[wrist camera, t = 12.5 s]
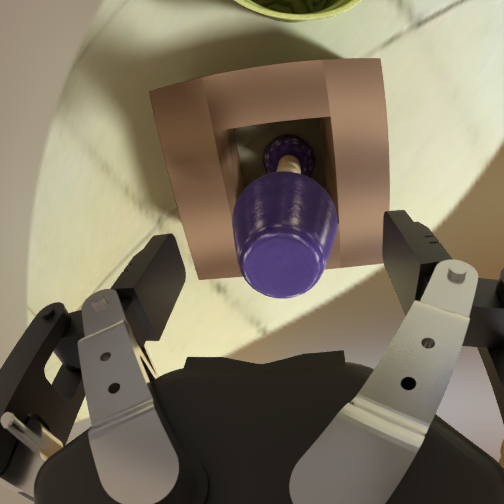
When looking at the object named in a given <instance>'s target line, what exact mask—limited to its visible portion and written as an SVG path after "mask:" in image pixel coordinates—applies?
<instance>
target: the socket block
mask: <svg viewBox="0 0 504 504" xmlns="http://www.w3.org/2000/svg"><path fill="white" fill-rule="evenodd" d="M149 94H150V99H151V103H152V108H153V112H154V116H155V121H156V125H157V129H158V134H159V138H160V142H161V146H162V150H163V154H164V158H165V162H166V166H167V170H168V174H169V178H170V181H171V185H172V189H173V193H174V196H175V200H176V204H177V207H178V211H179V214H180V218H181V222H182V225H183V229H184V232H185V235H186V239H187V242H188V246H189V249H190V252H191V256H192V259H193V262H194V265H195V269H196V272H197V275H198V278H199V280H205V279H218V278H231V277H243V275H242V273H241V271H240V268H239V265H238V261H237V254H236V249H235V243H234V235H233V227H232V215H233V211H234V206H235V203H236V201H237V199H238V197H239V196H240V194H241V193H242V191H243V190H244V189H245V186H244V181H243V176H242V170H241V165H240V160H239V155H238V149H237V144H236V139H235V133H234V128H238V127H244V126H250V125H257V124H264V123H272V122H280V121H288V120H297V119H307V118H318V117H319V121H320V130H321V138H322V147H323V157H324V167H325V178H326V189H325V190H326V191H327V192H328V194H329V195H330V197H331V199H332V200H333V202H334V205H335V209H336V212H337V232H336V236H335V240H334V243H333V246H332V249H331V253H330V255H329V258H328V261H327V264H326V267H325V269H333V268H343V267H353V266H363V265H372V264H382V263H384V262H383V256H382V242H383V216H384V212H385V211H389V201H390V175H389V143H388V125H387V112H386V101H385V91H384V82H383V74H382V67H381V60H380V59H379V58H352V59H326V60H311V61H300V62H290V63H281V64H273V65H266V66H259V67H252V68H246V69H240V70H235V71H230V72H224V73H219V74H215V75H210V76H206V77H201V78H197V79H193V80H189V81H185V82H181V83H177V84H173V85H170V86H166V87H163V88H159V89H156V90H153V91H149Z"/></svg>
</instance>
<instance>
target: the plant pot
mask: <svg viewBox="0 0 504 504" xmlns="http://www.w3.org/2000/svg"><path fill="white" fill-rule="evenodd" d="M234 1H235V2H237V3H238V4H240V5H242V6H244V7H246V8H248V9H250V10H252V11H255V12H257V13H260V14H263V15H267V16H268V17H270V18H272V19H275V20H278V21H283V22H301V21H306V20H316V19H322V18H327V17H331V16H334V15H338V14H340V13H343V12H345V11H347V10H349V9H351V8H352V7H354V6H356V5H357V4H358V3H360V2H361V1H362V0H320V2H319V4H318V5H317V6H315V7H314V6H313V4H314V2H315V0H234ZM272 9H275V10H277V11H274V10H272ZM278 11H279V12H278ZM282 12H283V13H282Z"/></svg>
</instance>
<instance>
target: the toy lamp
mask: <svg viewBox="0 0 504 504" xmlns="http://www.w3.org/2000/svg"><path fill="white" fill-rule="evenodd" d="M263 162H264V167H265V169H266V171H267V173H268V174H266V175H263V176H261V177H259V178H257V179H256V180H254V181H253V182H251V183H250V184H249V185H248V186H247V187H246V188H245V189H244V190H243V191H242V193H241V194H240V196H239V197H238V199H237V201H236V203H235V206H234V211H233V215H232V227H233V235H234V243H235V249H236V254H237V261H238V265H239V268H240V271H241V273H242V275H243V277H244V279H245V280H246V281H247V283H248V284H249V285H250V286H251V287H252V288H253V289H255V290H256V291H258V292H260V293H262V294H264V295H266V296H269V297H274V298H291V297H296V296H298V295H301V294H303V293H305V292H307V291H308V290H310V289H311V288H312V287H313V286H314V285H315V284H316V283H317V282H318V280H319V279H320V277H321V275H322V273H323V271H324V269H325V267H326V264H327V261H328V258H329V255H330V253H331V249H332V246H333V243H334V240H335V236H336V232H337V212H336V209H335V205H334V202H333V200H332V199H331V197H330V195H329V194H328V192H327V191H326V190H325V189H324V188H323V187H322V186H321V185H320V184H319V183H317V182H316V181H315V180H313V179H311V178H309V177H308V176H309V175H310V173H311V172H312V170H313V167H314V154H313V151H312V149H311V147H310V146H309V144H308V143H307V142H306V141H304V140H303V139H301V138H299V137H297V136H293V135H284V136H280V137H277V138H276V139H274V140H273V141H272V142H270V143H269V145H268V146H267V147H266V149H265V152H264V157H263Z"/></svg>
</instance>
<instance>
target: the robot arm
mask: <svg viewBox="0 0 504 504" xmlns="http://www.w3.org/2000/svg"><path fill="white" fill-rule="evenodd" d="M382 256H383V262H384V266H385V268H386V270H387V272H388V274H389V277H390V279H391V282H392V284H393V286H394V289H395V291H396V293H397V296H398V298H399V301H400V303H401V306H402V308H403V311H404V313H405V316H406V318H405V319H404V321H403V323H402V324H401V326H400V328H399V330H398V331H397V333H396V335H395V337H394V339H393V340H392V342H391V343H390V346H389V347H388V348H387V350H386V352H385V353H384V355H383V356H382V358H381V360H380V361H379V363H378V364H377V366H376V368H375V369H372V368H370V367H366V366H364V365H360V364H355V363H349V362H345V357H344V351H332V352H321V353H309V354H302V355H298V356H294V357H290V358H287V359H283V360H279V361H275V362H271V363H266V364H255V363H249V362H244V361H239V360H234V359H229V358H224V357H187V359H186V363H185V366H184V368H183V369H178V370H175V371H172V372H169V373H166V374H164V375H162V376H160V377H159V375H158V373H157V371H156V369H155V367H154V365H153V362H152V360H151V358H150V356H149V353H148V351H147V349H146V347H145V346H144V344H145V342H146V341H159V340H160V337H161V335H162V333H163V330H164V328H165V326H166V323H167V321H168V319H169V317H170V314H171V312H172V310H173V307H174V305H175V303H176V301H177V298H178V296H179V294H180V292H181V289H182V287H183V285H184V283H185V278H186V272H185V267H184V264H183V261H182V258H181V255H180V252H179V248H178V245H177V242H176V239H175V237H174V235H173V234H163V235H156V236H153V237H152V238H151V239H150V241H149V242H148V243H147V245H146V246H145V248H144V249H143V250H141V251H140V252H139V253H137V254H136V255H135V256H134V257H133V258H132V260H131V261H130V262H129V264H128V265H127V266H126V268H125V269H124V272H122V273H121V275H120V276H119V277H118V279H117V280H116V282H115V283H114V284H113V286H112V287H111V289H104V290H100V291H98V292H96V293H94V294H92V295H91V296H90V297H88V298H87V299H86V300H85V302H84V303H83V305H82V309H81V310H79V311H75V312H72V313H68V311H67V310H66V308H65V306H64V305H63V304H62V303H60V302H57V303H52V304H50V305H48V306H46V307H45V308H43V309H42V310H41V311H40V312H39V313H38V314H37V315H36V317H35V318H34V320H33V321H32V322H31V324H30V325H29V327H28V328H27V329H26V331H25V333H24V334H23V336H22V337H21V338H20V340H19V341H18V343H17V344H16V346H15V347H14V349H13V350H12V352H11V353H10V355H9V357H8V358H7V360H6V361H5V363H4V364H3V366H2V368H1V369H0V483H1V484H3V485H4V486H6V487H7V488H9V489H11V490H12V491H14V492H17V493H19V494H21V495H23V496H25V497H26V498H28V499H30V500H32V501H34V503H35V504H504V439H503V442H502V445H501V451H500V454H501V457H500V459H499V463H498V462H497V461H496V460H495V459H494V458H493V457H491V456H489V455H488V454H487V453H486V452H484V451H483V450H482V449H481V448H479V447H478V446H476V445H475V444H474V443H473V442H471V441H470V440H468V439H467V438H466V437H465V436H463V435H462V434H460V433H459V432H458V431H457V430H455V429H454V428H453V427H451V426H450V425H448V424H447V423H446V422H445V421H443V420H442V419H441V418H440V417H438V416H437V415H436V411H437V409H438V407H439V405H440V403H441V400H442V398H443V396H444V393H445V390H446V388H447V386H448V383H449V380H450V378H451V376H452V373H453V370H454V367H455V364H456V362H457V359H458V356H459V353H460V350H461V347H462V346H472V347H477V348H478V350H479V353H480V355H481V358H482V360H483V363H484V366H485V368H486V371H487V374H488V376H489V379H490V382H491V385H492V388H493V391H494V394H495V397H496V400H497V403H498V406H499V410H500V413H501V416H502V420H503V424H504V268H503V269H502V271H501V273H500V277H499V280H492V279H482V278H478V274H477V272H476V270H475V269H474V268H473V267H472V266H470V265H469V264H467V263H465V262H462V261H459V260H453V259H452V258H451V257H450V255H449V254H448V253H447V252H446V250H445V249H444V247H443V246H442V245H441V243H439V241H438V239H437V238H436V237H434V234H433V233H432V232H431V231H430V229H429V228H428V227H426V226H424V225H423V224H421V223H419V222H413V220H412V219H411V218H410V217H409V215H408V214H407V213H406V211H405V210H397V211H385V212H384V216H383V242H382ZM53 351H54V353H55V354H56V355H57V357H58V358H59V359H60V361H61V362H62V363H63V364H62V366H61V368H60V369H59V371H58V373H57V375H56V377H55V379H54V381H53V383H52V385H51V384H50V383H49V381H48V380H47V379H46V377H45V374H44V367H45V365H46V363H47V361H48V359H49V357H50V356H51V354H52V352H53ZM85 395H86V400H87V405H88V410H89V414H90V419H91V424H92V426H91V427H90V428H89V429H87V430H86V431H85V432H83V433H82V434H81V435H79V436H78V437H76V438H75V439H74V440H72V441H71V442H70V443H68V444H67V445H66V442H67V439H68V437H69V434H70V432H71V429H72V427H73V424H74V422H75V419H76V417H77V414H78V412H79V409H80V407H81V405H82V402H83V400H84V397H85Z"/></svg>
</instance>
